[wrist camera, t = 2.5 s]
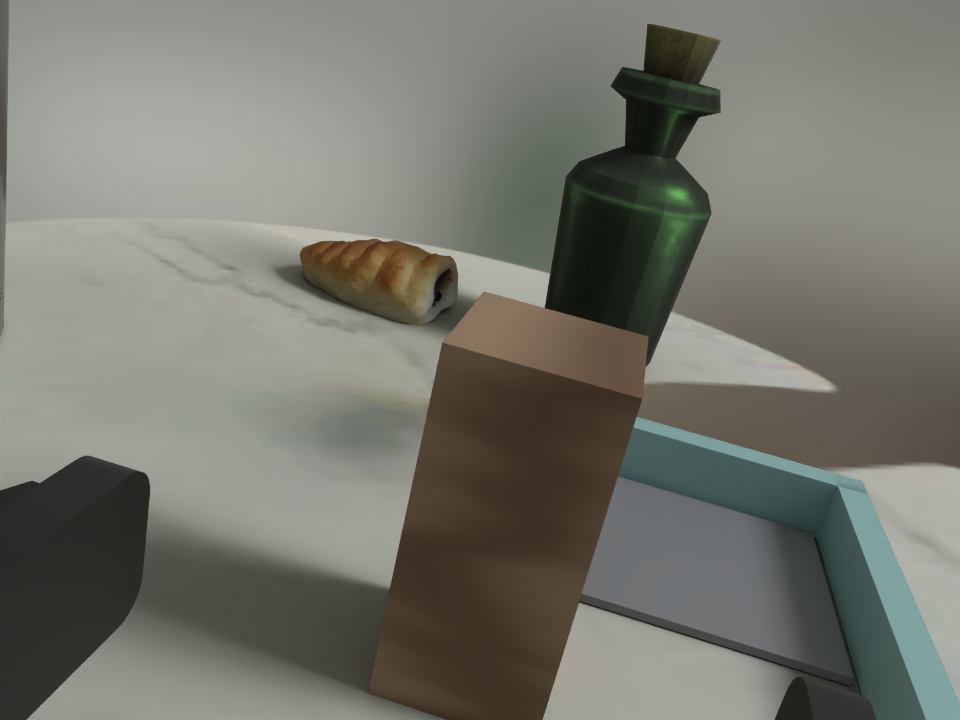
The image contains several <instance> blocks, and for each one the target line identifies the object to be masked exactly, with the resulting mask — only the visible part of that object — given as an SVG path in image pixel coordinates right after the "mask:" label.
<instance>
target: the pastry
mask: <svg viewBox="0 0 960 720" xmlns="http://www.w3.org/2000/svg"><path fill="white" fill-rule="evenodd" d="M300 259H301V263H302V267H303V271H304V275H305V278H306V279H307V280H308V281H309V282H310V283H311V284H312V285H314V286H316V287H319V288H321V289H323V290H325V291H326V292H327V293H329V294H331V295H333V296H334V297H335V298H337V299H338V300H340V301H342V302H344V303H348V304H352V305H354V306H356V307H359V308H362V309H365V310H367V311H370V312H372V313H375V314H378V315H380V316H383V317H386V318H389V319H392V320H395V321H399V322H403V323H407V324H412V325H421V324H427V323H429V322H431V321H433V320H434V319H435V318H436V316H437V315H438V314H439V313H440V311H441V310H443V309H445V308H448V307H449V306H451V305H452V304H454V303H455V301H456V299H457V295H458V272H457V266H456V263H455V261H454V259H453V258H452V257H451V256H441V255H438V254H430V253H428V252H426V251H425V250H423V249H421V248H419V247H416V246H412V245H409V244H406V243H403V242H400V241H396V240H395V241H390V242H382V241H380V240H378V239H371V240H357V241H353V242H350V241H348V242H345V241H321V242H318V243H315V244H313V245H310V246H307V247H304V248H303V249H302V250H301V252H300Z"/></svg>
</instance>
